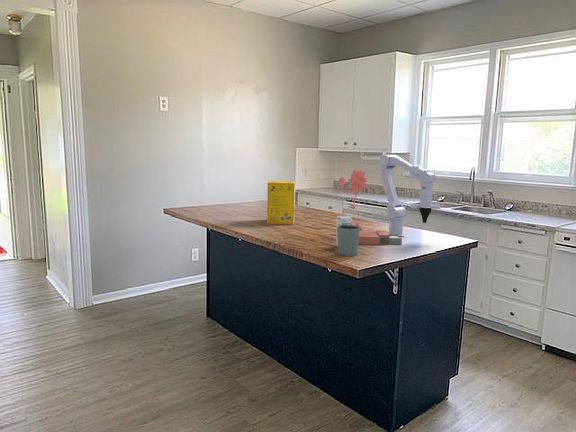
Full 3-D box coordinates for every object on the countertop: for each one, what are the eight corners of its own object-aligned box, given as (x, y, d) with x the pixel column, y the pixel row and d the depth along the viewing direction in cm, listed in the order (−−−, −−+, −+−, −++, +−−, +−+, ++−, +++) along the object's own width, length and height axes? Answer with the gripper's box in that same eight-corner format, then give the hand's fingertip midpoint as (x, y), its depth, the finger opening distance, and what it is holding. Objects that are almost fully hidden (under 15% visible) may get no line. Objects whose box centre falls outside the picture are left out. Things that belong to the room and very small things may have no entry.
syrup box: (340, 248, 207) (341, 217, 204) (335, 245, 212) (336, 215, 210) (351, 247, 208) (352, 217, 206) (346, 244, 214) (347, 215, 212)
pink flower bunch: (363, 237, 231) (368, 170, 227) (329, 230, 251) (332, 168, 247) (383, 235, 241) (387, 170, 236) (348, 228, 261) (351, 168, 256)
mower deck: (356, 237, 232) (356, 229, 232) (396, 238, 231) (397, 230, 230) (358, 243, 217) (359, 235, 216) (402, 245, 215) (402, 236, 215)
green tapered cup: (346, 257, 189) (348, 229, 188) (331, 252, 197) (332, 226, 196) (363, 254, 195) (364, 227, 193) (347, 249, 203) (348, 224, 202)
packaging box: (269, 219, 285) (269, 180, 281) (294, 220, 284) (295, 181, 280) (266, 223, 269) (267, 182, 265) (293, 224, 268) (294, 183, 264)
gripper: (413, 196, 220) (411, 223, 222) (443, 197, 219) (441, 224, 221) (410, 195, 227) (408, 221, 229) (439, 195, 226) (437, 222, 228)
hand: (424, 222), depth 226 cm, fingers closed
